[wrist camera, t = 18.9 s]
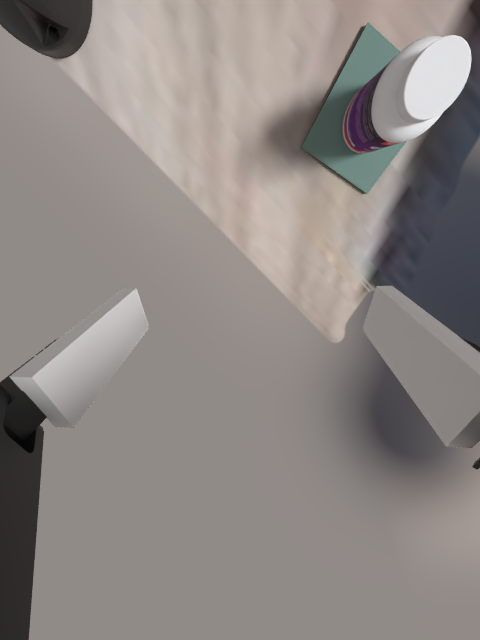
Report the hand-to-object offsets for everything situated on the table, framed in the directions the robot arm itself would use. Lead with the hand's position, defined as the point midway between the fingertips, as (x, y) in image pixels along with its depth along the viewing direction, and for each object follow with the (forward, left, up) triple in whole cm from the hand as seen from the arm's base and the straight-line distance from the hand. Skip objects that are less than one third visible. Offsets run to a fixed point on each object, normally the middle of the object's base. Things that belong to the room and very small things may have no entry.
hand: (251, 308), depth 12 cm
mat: (+8, +20, -35) cm, 41 cm away
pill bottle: (+8, +20, -34) cm, 41 cm away
